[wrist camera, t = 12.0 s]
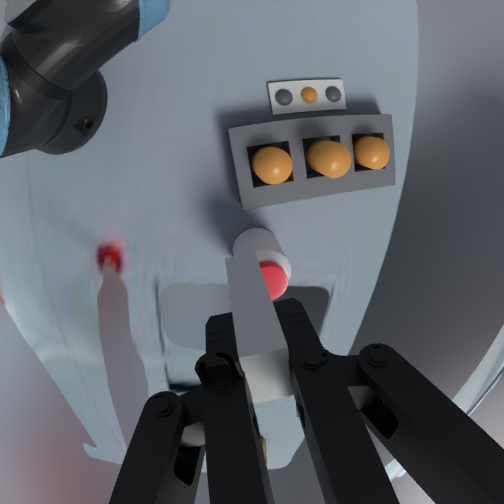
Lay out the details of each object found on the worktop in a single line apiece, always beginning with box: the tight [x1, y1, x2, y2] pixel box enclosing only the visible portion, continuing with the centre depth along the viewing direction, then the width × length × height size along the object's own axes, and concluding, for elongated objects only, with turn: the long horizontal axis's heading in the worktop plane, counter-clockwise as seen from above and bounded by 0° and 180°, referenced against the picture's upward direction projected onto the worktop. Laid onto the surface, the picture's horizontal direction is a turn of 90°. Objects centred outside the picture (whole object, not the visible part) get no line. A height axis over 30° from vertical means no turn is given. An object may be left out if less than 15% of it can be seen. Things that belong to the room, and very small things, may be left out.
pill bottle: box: [232, 228, 291, 300], centre depth 42 cm, size 8×8×11 cm
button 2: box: [251, 146, 292, 184], centre depth 38 cm, size 5×5×4 cm
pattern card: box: [268, 80, 347, 115], centre depth 36 cm, size 12×5×1 cm, turn 99°
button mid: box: [307, 140, 351, 178], centre depth 37 cm, size 5×5×4 cm
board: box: [227, 114, 395, 211], centre depth 39 cm, size 26×12×3 cm, turn 99°
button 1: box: [352, 135, 390, 170], centre depth 39 cm, size 5×5×4 cm
